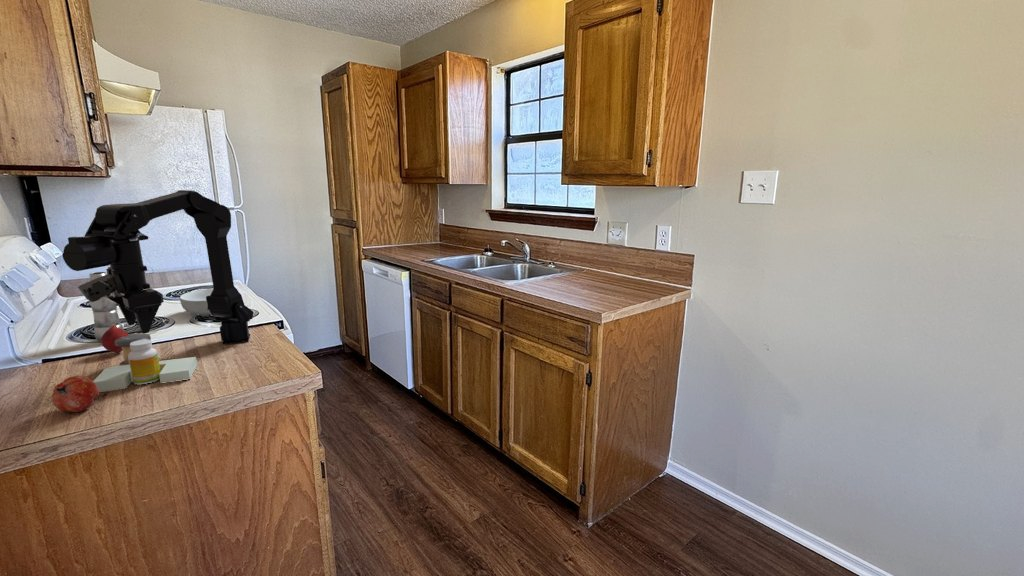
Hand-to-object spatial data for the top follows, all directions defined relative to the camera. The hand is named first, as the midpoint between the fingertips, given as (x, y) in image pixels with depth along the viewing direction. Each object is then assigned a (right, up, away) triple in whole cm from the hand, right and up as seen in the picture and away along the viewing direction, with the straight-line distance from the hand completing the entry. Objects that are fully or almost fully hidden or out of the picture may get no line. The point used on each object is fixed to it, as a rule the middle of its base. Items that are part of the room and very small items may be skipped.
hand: (138, 328), depth 107 cm
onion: (-21, -8, +19) cm, 29 cm away
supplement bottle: (0, -13, +3) cm, 13 cm away
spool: (-10, -10, +12) cm, 18 cm away
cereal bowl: (-19, 0, +55) cm, 58 cm away
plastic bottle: (-30, -6, +27) cm, 41 cm away
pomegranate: (-4, -16, -10) cm, 19 cm away
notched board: (-1, -12, +4) cm, 13 cm away
